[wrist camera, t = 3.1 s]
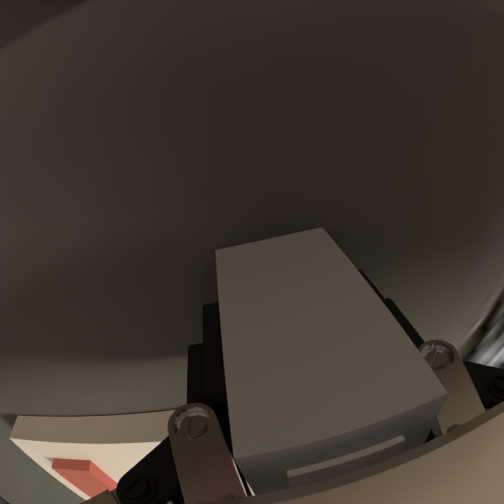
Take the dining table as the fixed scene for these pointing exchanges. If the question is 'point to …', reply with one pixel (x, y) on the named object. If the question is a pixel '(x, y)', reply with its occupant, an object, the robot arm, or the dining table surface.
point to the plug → (315, 365)
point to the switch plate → (90, 446)
